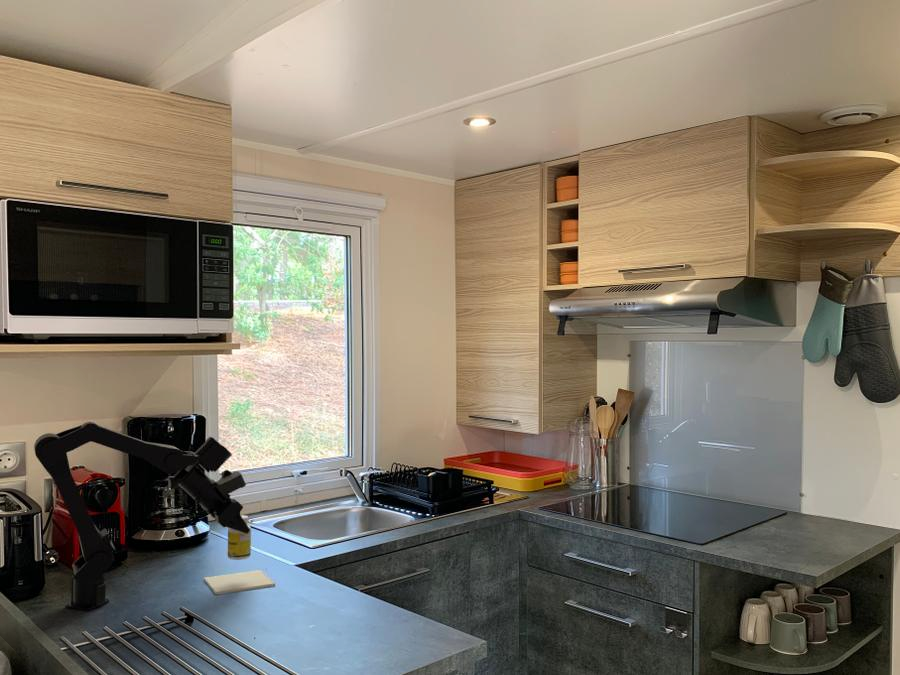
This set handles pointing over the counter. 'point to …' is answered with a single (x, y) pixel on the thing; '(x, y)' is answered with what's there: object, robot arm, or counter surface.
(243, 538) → the supplement bottle
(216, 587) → the rubber mat
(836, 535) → the counter surface
